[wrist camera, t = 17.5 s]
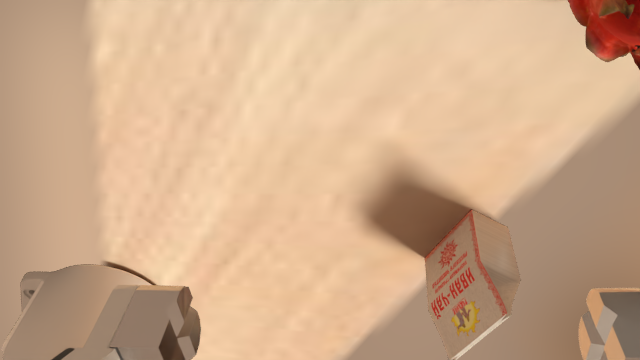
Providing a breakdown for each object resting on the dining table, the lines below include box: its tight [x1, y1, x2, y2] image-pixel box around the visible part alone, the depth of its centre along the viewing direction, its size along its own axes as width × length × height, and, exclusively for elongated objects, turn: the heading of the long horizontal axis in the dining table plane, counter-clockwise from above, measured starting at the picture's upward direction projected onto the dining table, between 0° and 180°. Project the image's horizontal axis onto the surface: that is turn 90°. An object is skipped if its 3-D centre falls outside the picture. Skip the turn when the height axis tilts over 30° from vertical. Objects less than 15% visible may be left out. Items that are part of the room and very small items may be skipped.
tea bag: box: [425, 209, 521, 360], centre depth 44 cm, size 4×7×10 cm, turn 153°
